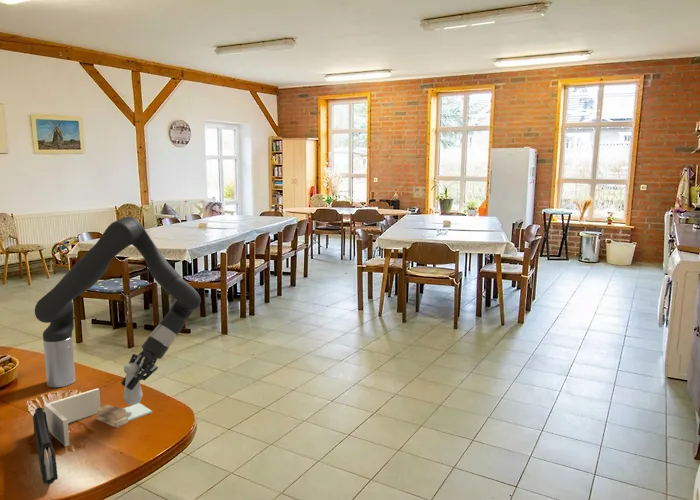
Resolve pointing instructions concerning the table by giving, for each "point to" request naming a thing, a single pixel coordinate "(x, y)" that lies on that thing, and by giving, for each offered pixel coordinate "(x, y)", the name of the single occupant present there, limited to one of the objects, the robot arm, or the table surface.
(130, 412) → the tile
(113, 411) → the offcut short
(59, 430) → the bracket
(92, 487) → the table surface
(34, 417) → the magazine
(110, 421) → the block
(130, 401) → the salt shaker
